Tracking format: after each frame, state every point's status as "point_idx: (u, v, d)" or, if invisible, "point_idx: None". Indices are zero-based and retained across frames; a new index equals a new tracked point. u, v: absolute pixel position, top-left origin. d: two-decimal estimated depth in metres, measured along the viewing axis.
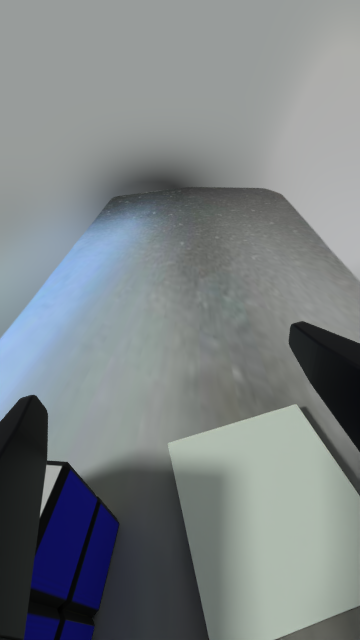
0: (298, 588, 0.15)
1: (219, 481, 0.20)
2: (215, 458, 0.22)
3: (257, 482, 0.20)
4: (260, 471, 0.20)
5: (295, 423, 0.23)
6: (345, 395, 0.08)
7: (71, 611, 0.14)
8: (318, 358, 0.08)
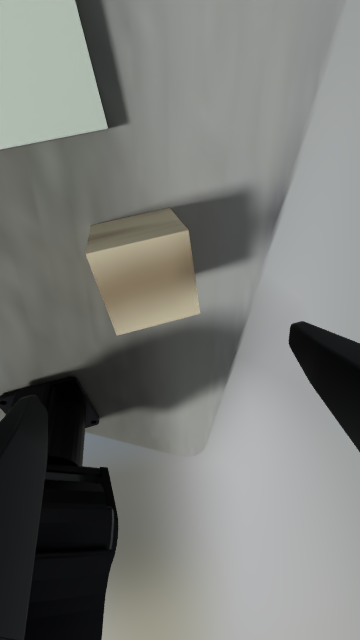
0: None
1: None
2: None
3: None
4: None
5: None
6: (345, 395, 0.08)
7: None
8: (318, 358, 0.08)
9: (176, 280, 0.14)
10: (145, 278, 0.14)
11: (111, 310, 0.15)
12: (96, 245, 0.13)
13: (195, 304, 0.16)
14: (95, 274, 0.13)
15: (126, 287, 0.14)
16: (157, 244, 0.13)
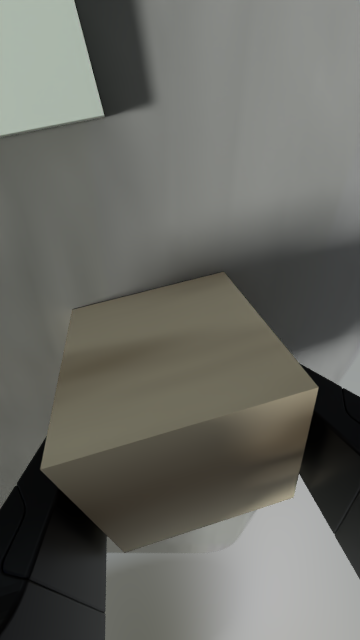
0: None
1: None
2: None
3: None
4: None
5: None
6: None
7: None
8: None
9: (261, 468, 0.06)
10: (193, 477, 0.06)
11: (113, 529, 0.06)
12: (74, 415, 0.05)
13: (289, 489, 0.07)
14: (71, 494, 0.05)
15: (148, 497, 0.06)
16: (235, 423, 0.05)
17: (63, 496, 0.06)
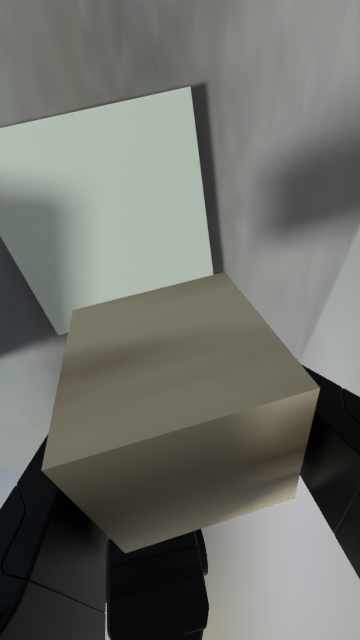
0: None
1: (51, 213, 0.15)
2: (42, 179, 0.14)
3: (103, 216, 0.16)
4: (108, 203, 0.16)
5: (174, 130, 0.14)
6: None
7: None
8: None
9: (262, 469, 0.06)
10: (194, 477, 0.06)
11: (114, 530, 0.06)
12: (75, 416, 0.05)
13: (290, 489, 0.07)
14: (72, 495, 0.05)
15: (149, 498, 0.06)
16: (236, 424, 0.05)
17: (63, 496, 0.06)
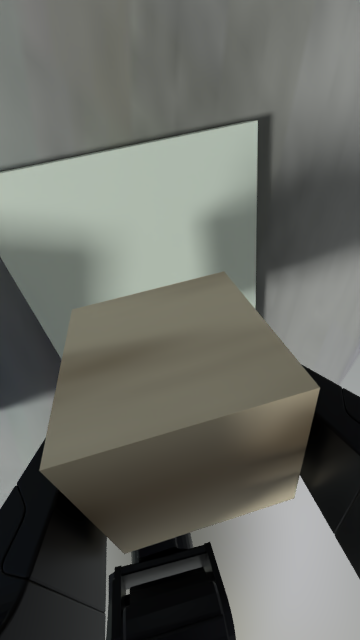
0: None
1: (81, 262, 0.13)
2: (73, 225, 0.12)
3: (140, 264, 0.14)
4: (148, 250, 0.13)
5: (233, 170, 0.12)
6: None
7: None
8: None
9: (262, 469, 0.06)
10: (193, 478, 0.06)
11: (113, 530, 0.06)
12: (74, 416, 0.05)
13: (289, 490, 0.07)
14: (71, 495, 0.05)
15: (149, 498, 0.06)
16: (236, 424, 0.05)
17: (63, 496, 0.06)
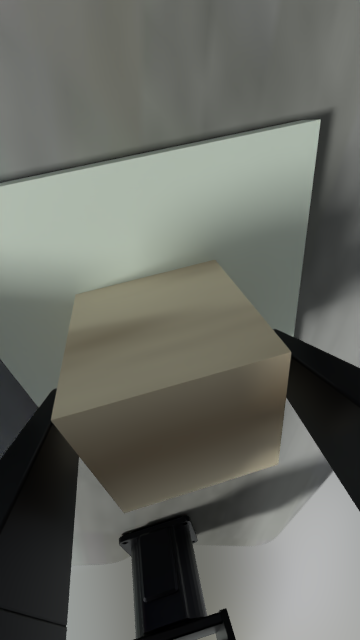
0: None
1: (72, 309, 0.10)
2: (60, 264, 0.09)
3: None
4: None
5: (280, 187, 0.09)
6: (312, 405, 0.08)
7: None
8: None
9: (245, 431, 0.07)
10: (184, 436, 0.07)
11: (113, 487, 0.07)
12: (79, 379, 0.06)
13: (273, 455, 0.08)
14: (77, 447, 0.06)
15: (145, 455, 0.07)
16: (219, 384, 0.06)
17: (18, 510, 0.05)
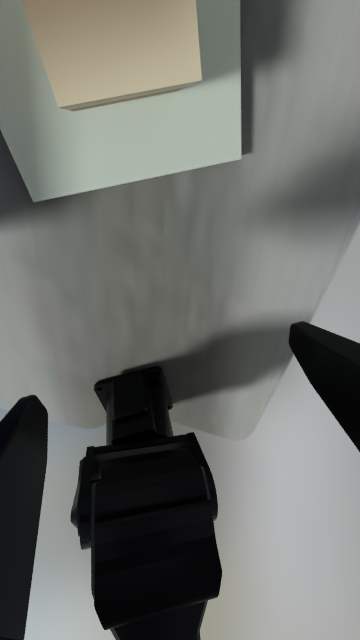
0: (126, 153, 0.14)
1: None
2: None
3: None
4: None
5: None
6: (345, 395, 0.08)
7: None
8: (318, 358, 0.08)
9: None
10: None
11: (40, 34, 0.08)
12: None
13: (194, 52, 0.09)
14: None
15: None
16: None
17: None
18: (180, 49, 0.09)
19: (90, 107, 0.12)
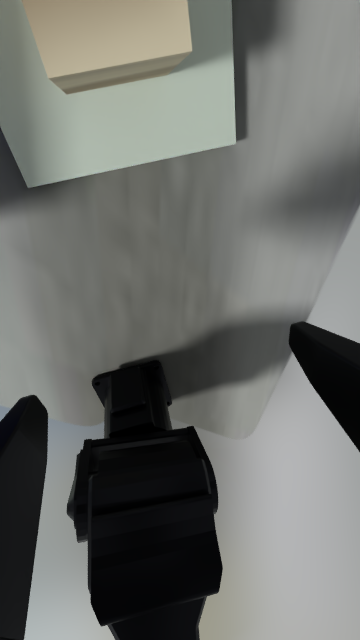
0: (120, 137, 0.14)
1: None
2: None
3: None
4: None
5: None
6: (345, 395, 0.08)
7: None
8: (318, 358, 0.08)
9: None
10: None
11: (29, 1, 0.08)
12: None
13: (183, 22, 0.09)
14: None
15: None
16: None
17: None
18: (169, 18, 0.09)
19: (83, 89, 0.13)
